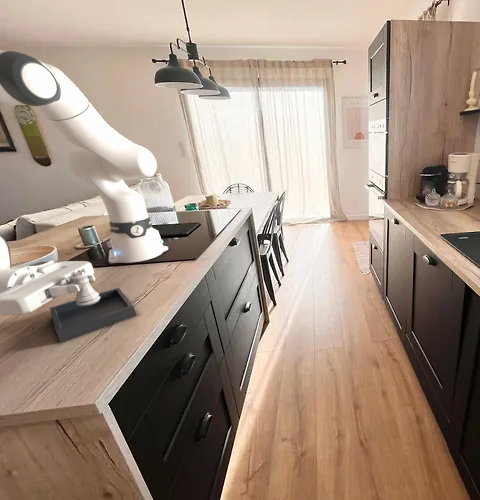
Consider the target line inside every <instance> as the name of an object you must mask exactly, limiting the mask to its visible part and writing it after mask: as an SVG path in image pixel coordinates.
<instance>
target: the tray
mask: <svg viewBox="0 0 480 500" xmlns="http://www.w3.org/2000/svg"><path fill="white" fill-rule="evenodd" d="M98 293H99V296H100V300H99V301H98V302H96V303H95V304H92V305H88V306H79V305H77V304H76V303H77V301H75V300H72V301H67V302H65V303H62V304H61V303H60V304H58V305H55V306H51V307H49V310H50V314H51V318H52V322H53V325H54V329H55V333H56V335H57V337H58V340H59V342H60V343H63V342H66V341H69V340H71V339H74V338H78V337H80V336H83V335H85V334H88V333H92V332H94V331H96V330H100V329H102V328H105V327H107V326H110V325H113V324H117V323H119V322H121V321H124V320H127V319H130V318H133V317H135V316H137V313H136V310H135V306H134V305H133V304H132V302H131V301H130V299H128V297H127V296H126V295H125V293H124V292H123V291H122V290H121V288H120V287H116V288H112V289H109V290H106V291H102V292H98Z"/></svg>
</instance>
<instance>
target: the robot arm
mask: <svg viewBox="0 0 480 500" xmlns="http://www.w3.org/2000/svg"><path fill="white" fill-rule="evenodd" d="M0 105H2V106H29V107H35V108H36V109H37V110H38V111H39V113H41V115H42V116H43V117H44V118H45V119H46V120H47V121H48V122H49V123H50V124H51V125H52V126H53V127H54V128H55V129H56V130H57V131H58V132H59V133H60V135H62V137H64V139H66V140H67V142H69V143H71V144H72V145H75V146H77V148H73V149H71V150H70V151H69V152H68V154H67V165H68V167H69V169H70V171H72V173H73V174H75V175H76V176H77V177H79V178H80V179H82V180H84V181H85V182H87V183H88V184H89V185H90V186H91V187H92V188H93V189H94V190H95V191H96V192H97V194H98V195H99V196H100V198H101V200H102V202H103V204H104V206H105V210H106V212H107V214H108V217H109V229H110V231H111V232H112V235H111V236H110V239H109V241H106V245H107V248H111V249H109V250H108V264H131V263H133V264H134V263H139V262H144V261H149V260H151V259H154V258H157V257H159V256H161V255H162V254H163V253H164V252H167V251H169V246H166V245H163V243H164V240H163V239H162V238H161V235H160V233H159V230H157V229H156V228H154V227H153V222H152V219H151V217H150V216H149V214H148V210H147V206H146V202H145V199H144V196H143V195H142V194H141V193H140V192H138V191H136V190H134V189H131V188H130V187H129V186H128V185H127V184H126V182H125V181H129V180H130V181H138V180H142V179H147V178H151V177H154V175H155V174H156V172H157V169H158V161H157V159H156V157H155V156H154V154H153V153H152V152H151V150H149V149H148V148H146V147H143V146H140V145H138V144H136V143H134V142H132V141H131V140H128V139H127V138H126V137H124V136H123V135H121V134H120V133H118V132H117V131H116V130H115V129H114V128H112V127H111V126H110V125H109V124H108V123H107V121H105V120H104V119H103V117H102V116H101V115H100V114H99V112H98V111H97V110H96V109H95V108H94V106H93V105H92V104H91V103H90V101H89V100H88V99H87V98H86V96H85V95H84V94H83V93H82V92H81V90H80V89H79V88H78V87H77V86H76V84H74V83H73V81H71V80H70V78H68V77H67V76H66V74H64V73H63V72H62V71H61V70H60V69H58V68H57V67H56V66H54V65H52V64H50V63H46V62H42V61H41V60H40V59H37V58H36V57H34V56H31V55H29V54H27V53H23V52H19V51H16V50H4V49H0ZM77 270H80V271H81V272H82V270H85V271H86V272H87V273H89V274H88V276H87V278H88V279H90V280H89V283H90V285H91V284H93V283H95V282H96V276H95V275H94V274H95V271H94V267H93V264H92V263H91V262H90V261H86V260H67V261H57V262H55V260H51V259H50V260H49V259H48V260H43V261H38V262H35V263H32V264H28V265H23V266H16V267H12V257H11V249H10V245H9V243H8V241H7V240H6V239H5V238H4V237H3V236H2V235H0V316H22V315H26V314H30V313H32V312H34V311H36V310H37V309H39V308H41V307H42V306H44V305H45V304H47V303H49V302H50V301H53V300H54V299H55V298H58V297H61V296H64V295H68V294H74V293H76V294H77V292H79V291H80V290H82V289H83V287H82V284H81V283H74V280H73V279H71V278H70V277H71V273H73V272H74V271H75V272H76V273H77V272H78V271H77Z"/></svg>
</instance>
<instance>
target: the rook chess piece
mask: <svg viewBox="0 0 480 500" xmlns="http://www.w3.org/2000/svg"><path fill="white" fill-rule="evenodd" d="M77 271H78V272H77V273H76V272H75V271H74V272H73V273H71V277H70V278H71V279H73V280H74V283H81V284H82V287H83V289H82V290H80V291H79V292H77V293H76V295H75V296H76V297H75V299H74V301H77V303H76V304H77V305H79V306H88V305H92V304H95V303H96V302H98V301H99V300H100V296H99V293H100V292H98V291H96V290H95V289H94V288H93V287H92V285H91V284H90V283H89V280H90V279H88V278H87V276H88V274H89V273H87V272H86V271H85V270H82V272H81V271H80V270H77Z"/></svg>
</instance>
